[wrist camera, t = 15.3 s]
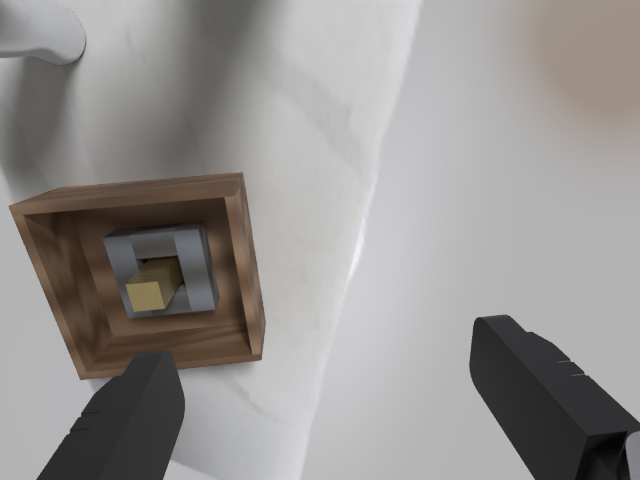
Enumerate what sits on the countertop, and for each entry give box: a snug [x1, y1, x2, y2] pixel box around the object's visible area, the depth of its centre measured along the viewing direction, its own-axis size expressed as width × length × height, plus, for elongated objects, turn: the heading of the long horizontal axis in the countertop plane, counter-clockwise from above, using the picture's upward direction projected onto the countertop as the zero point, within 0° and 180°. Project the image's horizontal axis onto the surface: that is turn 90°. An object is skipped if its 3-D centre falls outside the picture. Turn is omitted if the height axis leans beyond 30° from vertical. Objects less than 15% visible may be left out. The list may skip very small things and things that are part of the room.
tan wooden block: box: [126, 255, 184, 312], centre depth 42 cm, size 3×3×8 cm
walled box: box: [9, 172, 266, 380], centre depth 43 cm, size 22×22×8 cm
